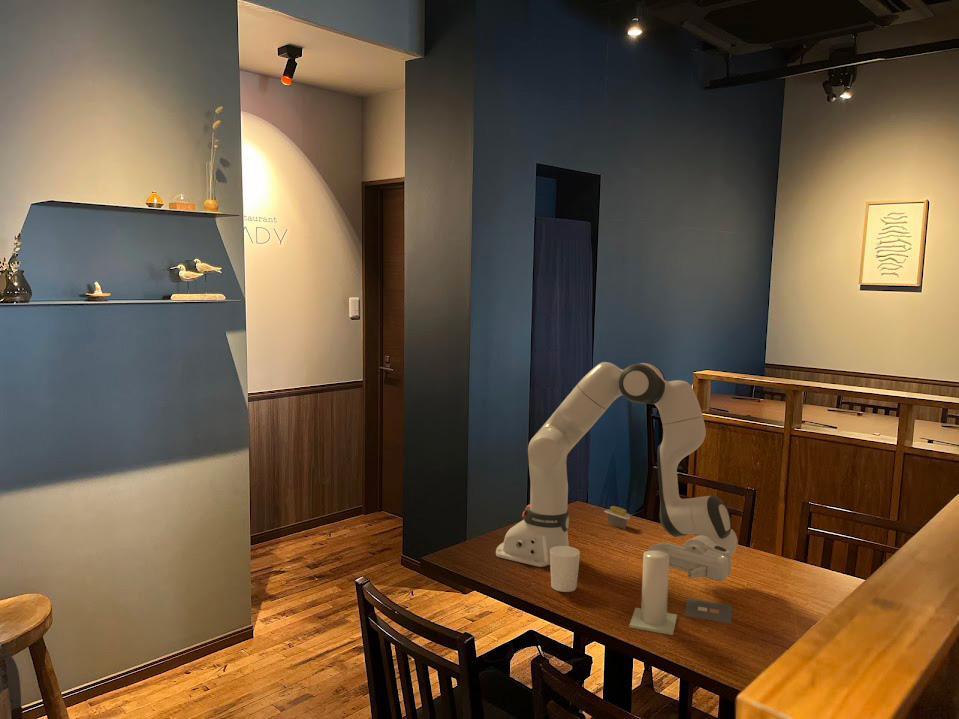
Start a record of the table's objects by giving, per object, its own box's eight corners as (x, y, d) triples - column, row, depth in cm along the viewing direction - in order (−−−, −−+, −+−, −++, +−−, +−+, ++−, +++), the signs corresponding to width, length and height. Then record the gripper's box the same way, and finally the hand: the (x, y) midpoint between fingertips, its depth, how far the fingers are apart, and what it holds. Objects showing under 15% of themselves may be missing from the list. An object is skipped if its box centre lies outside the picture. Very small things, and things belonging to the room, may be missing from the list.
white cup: (561, 578, 198) (562, 543, 197) (584, 587, 192) (585, 551, 191) (543, 586, 193) (544, 550, 192) (566, 596, 187) (567, 558, 186)
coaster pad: (629, 628, 170) (629, 624, 170) (635, 610, 179) (635, 607, 179) (672, 635, 166) (673, 632, 166) (676, 617, 176) (677, 614, 175)
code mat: (683, 616, 176) (683, 615, 176) (687, 598, 187) (687, 597, 187) (731, 624, 173) (731, 623, 173) (732, 605, 183) (732, 604, 183)
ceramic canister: (639, 622, 171) (641, 557, 169) (642, 612, 176) (645, 549, 175) (665, 627, 169) (668, 561, 167) (667, 616, 174) (670, 552, 173)
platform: (609, 517, 254) (610, 499, 253) (651, 531, 240) (651, 512, 239) (586, 523, 246) (587, 505, 246) (627, 538, 232) (628, 518, 232)
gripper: (663, 533, 194) (636, 545, 184) (737, 553, 180) (711, 567, 170) (662, 555, 195) (635, 569, 185) (735, 577, 181) (710, 593, 171)
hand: (672, 568), depth 178 cm, fingers open, 8 cm apart
